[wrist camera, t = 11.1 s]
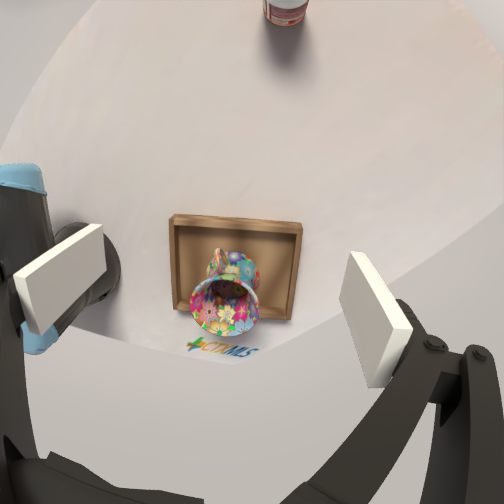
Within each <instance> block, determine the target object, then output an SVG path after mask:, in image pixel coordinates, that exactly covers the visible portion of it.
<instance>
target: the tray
mask: <svg viewBox="0 0 504 504" xmlns="http://www.w3.org/2000/svg"><path fill="white" fill-rule="evenodd" d="M302 234H303V227H302V224H301V223H297V222H285V221H273V220H260V219H247V218H233V217H218V216H202V215H185V214H174V215H173V216H172V217H171V218H170V219H169V242H170V266H171V284H172V299H173V309H174V310H183V311H191V308H190V299H191V296H192V293H193V291H194V290H195V288H196V287H197V286H198V285H199V284H200V283H202V282H203V281H205V280H207V278H206V271H207V267H208V265H209V263H210V261H211V260H212V259H213V258H214V251H215V249H216V248H222V249H223V250H224V252H230V251H232V252H239V253H242V254H244V255H246V256H248V257H249V258H250V259H252V260H253V262H254V263H255V264H256V266H257V268H258V271H259V283H258V286H257V288H256V289H255V291H254V292H255V294H256V296H257V298H258V300H259V304H260V314H259V317H258V318H266V319H280V320H291V315H292V308H293V301H294V294H295V287H296V280H297V273H298V265H299V258H300V250H301V242H302Z"/></svg>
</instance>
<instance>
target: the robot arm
mask: <svg viewBox="0 0 504 504" xmlns="http://www.w3.org/2000/svg"><path fill="white" fill-rule="evenodd" d="M46 196H47V193H46V191H45V188H44V183H43V178H42V172H41V170H40V168H39V167H38V166H37V165H35V164H32V163H18V164H7V165H0V504H204V499H201V498H195V497H189V496H184V495H179V494H174V493H170V492H166V491H162V490H142V489H128V488H118V487H115V486H113V485H111V484H110V483H108V482H106V481H105V480H103V479H102V478H100V477H99V476H97V475H96V474H94V473H93V472H91V471H90V470H89V469H87V468H86V467H84V466H83V465H81V464H79V463H76V462H74V461H71V460H69V459H67V458H65V457H62V456H60V455H58V454H56V453H54V452H52V451H50V453H49V455H48V457H47V459H40V458H39V456H38V453H37V450H36V445H35V440H34V436H33V430H32V424H31V419H30V412H29V405H28V397H27V389H26V378H25V366H24V353H27V354H31V355H38V354H42V353H43V352H45V351H46V350H47V349H48V348H49V347H50V346H51V345H52V344H53V343H55V342H56V341H57V340H58V338H59V337H60V335H61V334H62V333H63V332H64V331H65V329H66V328H67V327H68V326H69V325H70V324H71V322H72V321H73V320H74V319H75V318H76V317H77V315H78V314H79V313H80V312H81V311H82V310H83V309H84V307H86V306H89V305H91V304H94V303H96V302H99V301H101V300H103V299H105V298H106V297H107V296H109V294H110V293H111V292H112V291H113V290H114V289H115V287H116V286H117V284H118V281H119V278H120V262H119V258H118V255H117V252H116V250H115V248H114V246H113V244H112V243H111V241H110V240H109V239H108V237H107V236H106V235H105V234H104V233H103V225H101V224H87V223H73V224H70V225H68V226H66V227H65V228H63V229H61V230H60V231H59V232H58V233H57V234H56V235H55V237H53V232H52V227H51V222H50V216H49V210H48V204H47V198H46ZM339 300H340V303H341V306H342V309H343V312H344V314H345V317H346V320H347V323H348V326H349V329H350V332H351V335H352V338H353V341H354V344H355V347H356V350H357V353H358V356H359V360H360V363H361V366H362V369H363V372H364V376H365V379H366V382H367V386H368V388H385V389H384V391H383V392H382V394H381V395H380V396H379V398H378V399H377V401H376V402H375V403H374V405H373V406H372V407H371V409H370V410H369V411H368V413H367V414H366V415H365V417H364V418H363V419H362V420H361V422H360V423H359V424H358V425H357V427H356V428H355V429H354V430H353V432H352V433H351V434H350V435H349V436H348V438H347V439H346V440H345V441H344V442H343V444H342V445H341V446H340V447H339V448H338V449H337V451H336V452H335V453H334V454H333V455H332V456H331V457H330V458H329V459H328V461H327V462H326V463H325V464H324V465H323V466H322V467H321V468H320V469H319V470H318V471H317V472H316V474H314V476H312V477H311V478H310V479H309V480H308V481H307V482H303V483H302V484H301V485H299V486H298V487H297V488H296V489H295V490H294V491H293V492H292V493H291V494H290V495H288V496H287V497H286V498H285V499H284V500H283V501H282V502H281V503H280V504H368V503H369V502H370V500H371V499H372V497H373V496H374V495H375V493H376V492H377V490H378V489H379V487H380V486H381V485H382V483H383V482H384V480H385V478H386V477H387V475H388V474H389V472H390V471H391V469H392V468H393V466H394V464H395V463H396V461H397V459H398V458H399V456H400V454H401V453H402V451H403V449H404V447H405V446H406V444H407V442H408V440H409V438H410V437H411V435H412V432H413V431H414V429H415V427H416V425H417V423H418V421H419V419H420V417H421V415H422V413H423V411H424V409H425V407H426V405H427V403H428V402H430V403H435V404H436V413H435V422H434V431H433V438H432V445H431V451H430V457H429V463H428V468H427V473H426V478H425V483H424V488H423V492H422V496H421V500H420V504H504V418H503V408H502V401H501V394H500V388H499V382H498V377H497V371H496V366H495V362H494V358H493V356H492V354H491V353H490V352H489V350H487V349H485V347H483V346H479V345H474V344H473V345H469V346H468V347H467V348H466V350H465V352H464V354H458V353H453V352H449V351H448V349H449V348H448V346H447V344H446V343H445V342H444V341H443V340H441V339H440V338H438V337H436V336H433V335H428V334H427V333H426V331H425V329H424V328H423V326H422V325H421V323H420V322H419V320H417V317H416V316H415V314H413V311H412V310H411V308H410V307H409V305H407V304H406V303H405V302H403V301H402V300H401V299H394V297H393V295H392V294H391V292H390V291H389V289H388V288H387V286H386V285H385V283H384V282H383V280H382V279H381V277H380V276H379V274H378V273H377V271H376V270H375V268H374V267H373V265H372V264H371V262H370V261H369V259H368V258H367V256H366V255H365V254H364V253H360V252H352V251H350V254H349V259H348V263H347V268H346V272H345V276H344V280H343V285H342V289H341V293H340V297H339ZM391 377H393V378H392V379H391ZM390 379H391V381H390ZM389 381H390V382H389ZM388 383H389V384H388Z"/></svg>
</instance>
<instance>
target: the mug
mask: <svg viewBox="0 0 504 504" xmlns="http://www.w3.org/2000/svg"><path fill="white" fill-rule="evenodd" d="M206 278H207V280H205V281H203V282H202V283H200V284H199V285H198V286H197V287H196V288H195V290H194V291H193V293H192V296H191V299H190V308H191V312H192V315H193V317H194V319H195V320H196V322H197V323H198V324H199V325H200V326H201V327H202V328H204V329H205V330H207V331H208V332H210V333H213V334H215V335H219V336H227V337H228V336H237V335H240V334H243V333H245V332H247V331H248V330H250V329H251V328H252V327H253V326H254V325H255V323H256V322H257V320H258V317H259V314H260V304H259V300H258V298H257V296H256V294H255V292H254V291H255V289H256V288H257V286H258V283H259V271H258V268H257V266H256V264H255V263H254V262H253V260H252V259H250V258H249V257H248V256H246V255H244V254H242V253H239V252H232V251H230V252H224V250H223V249H222V248H216V249H215V251H214V258H213V259H212V260H211V261H210V263H209V265H208V267H207V271H206Z"/></svg>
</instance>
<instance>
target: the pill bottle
mask: <svg viewBox="0 0 504 504" xmlns="http://www.w3.org/2000/svg"><path fill="white" fill-rule="evenodd" d="M308 1H309V0H263V10H264V14H265V16H266V17H267V18H268V19H269V20H270V21H271V22H273V23H274V24H277V25H281V26H290V25H294V24H296V23H298V22H300V21H301V20H302V19H303V17H304V15H305V12H306V8H307V5H308Z"/></svg>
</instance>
